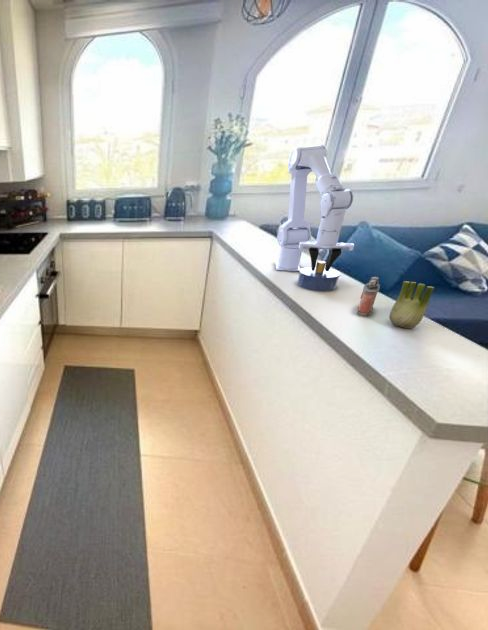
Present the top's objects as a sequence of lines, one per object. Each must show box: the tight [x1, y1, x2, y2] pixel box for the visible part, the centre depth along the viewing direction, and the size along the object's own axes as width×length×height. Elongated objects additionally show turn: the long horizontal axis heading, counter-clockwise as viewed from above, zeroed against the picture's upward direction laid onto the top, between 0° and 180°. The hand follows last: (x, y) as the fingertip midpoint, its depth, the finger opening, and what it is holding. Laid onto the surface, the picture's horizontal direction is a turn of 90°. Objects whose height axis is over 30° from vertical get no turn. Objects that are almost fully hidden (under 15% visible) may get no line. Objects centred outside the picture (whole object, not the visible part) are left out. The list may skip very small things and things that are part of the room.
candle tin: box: [297, 272, 339, 292], centre depth 118 cm, size 11×11×4 cm
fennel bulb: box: [388, 280, 435, 329], centre depth 87 cm, size 6×5×12 cm
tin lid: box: [298, 260, 341, 279], centre depth 116 cm, size 12×12×5 cm
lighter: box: [355, 276, 381, 317], centre depth 97 cm, size 8×3×10 cm, turn 135°
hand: (319, 270), depth 116 cm, fingers open, 3 cm apart
